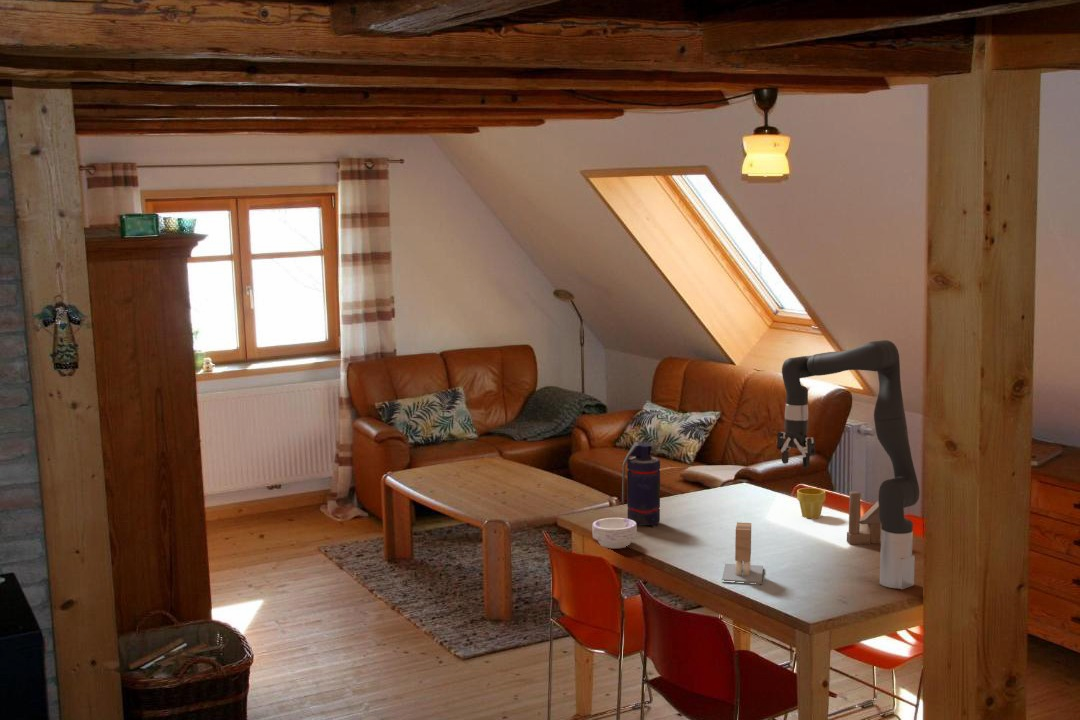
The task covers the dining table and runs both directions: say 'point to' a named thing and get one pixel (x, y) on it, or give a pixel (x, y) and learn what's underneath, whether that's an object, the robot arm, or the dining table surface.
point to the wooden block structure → (863, 522)
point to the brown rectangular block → (743, 542)
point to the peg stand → (743, 572)
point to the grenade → (642, 485)
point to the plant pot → (811, 501)
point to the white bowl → (614, 532)
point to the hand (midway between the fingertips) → (795, 465)
